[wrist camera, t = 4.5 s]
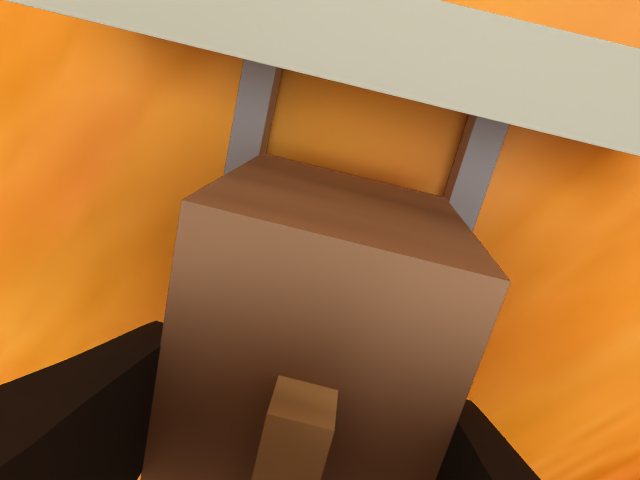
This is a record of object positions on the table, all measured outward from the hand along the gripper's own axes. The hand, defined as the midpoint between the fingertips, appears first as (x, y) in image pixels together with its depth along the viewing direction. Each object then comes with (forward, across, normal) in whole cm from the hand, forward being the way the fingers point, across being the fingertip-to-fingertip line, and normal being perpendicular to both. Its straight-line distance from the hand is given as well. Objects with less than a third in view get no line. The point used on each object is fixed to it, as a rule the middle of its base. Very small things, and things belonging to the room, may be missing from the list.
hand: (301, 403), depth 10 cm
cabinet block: (+5, 0, 0) cm, 5 cm away
